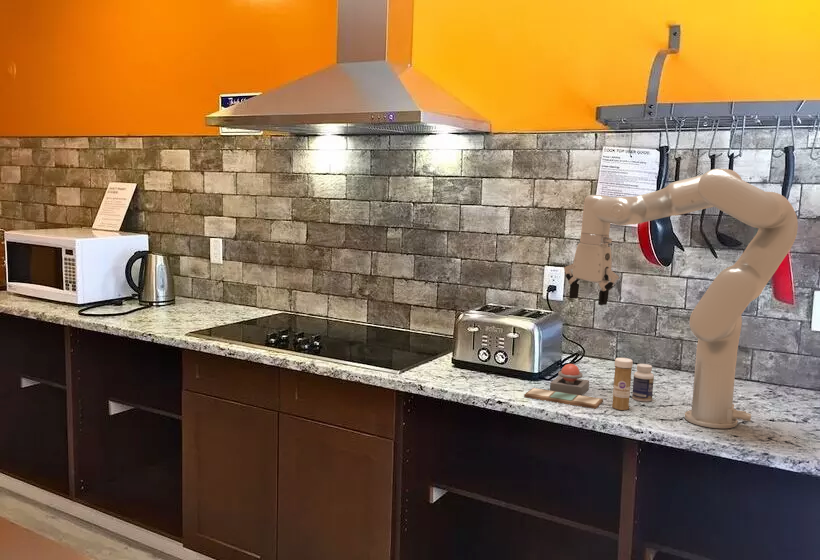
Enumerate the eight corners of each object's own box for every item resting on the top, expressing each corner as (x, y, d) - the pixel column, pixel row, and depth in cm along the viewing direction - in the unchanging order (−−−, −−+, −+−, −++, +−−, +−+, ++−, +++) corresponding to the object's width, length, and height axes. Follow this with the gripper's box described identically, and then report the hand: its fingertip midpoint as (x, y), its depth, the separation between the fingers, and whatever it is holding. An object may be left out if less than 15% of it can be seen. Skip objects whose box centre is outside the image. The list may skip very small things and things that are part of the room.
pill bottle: (651, 403, 208) (653, 368, 207) (630, 400, 210) (633, 366, 209) (653, 398, 213) (655, 364, 212) (633, 395, 215) (635, 362, 214)
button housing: (588, 389, 220) (589, 380, 220) (580, 396, 212) (581, 387, 212) (558, 384, 224) (559, 375, 224) (549, 391, 216) (550, 382, 216)
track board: (602, 401, 208) (603, 398, 208) (596, 408, 201) (596, 405, 201) (533, 390, 217) (533, 387, 217) (524, 397, 210) (524, 393, 210)
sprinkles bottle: (614, 410, 200) (617, 360, 198) (609, 405, 205) (613, 356, 203) (631, 410, 200) (634, 361, 198) (626, 405, 205) (630, 357, 203)
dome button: (584, 382, 219) (585, 363, 219) (578, 387, 213) (579, 368, 213) (561, 378, 222) (562, 360, 222) (555, 383, 216) (556, 364, 216)
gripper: (629, 244, 203) (622, 306, 206) (576, 236, 216) (570, 294, 219) (613, 244, 198) (606, 308, 201) (560, 236, 211) (554, 296, 214)
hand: (587, 301), depth 210 cm, fingers open, 9 cm apart
